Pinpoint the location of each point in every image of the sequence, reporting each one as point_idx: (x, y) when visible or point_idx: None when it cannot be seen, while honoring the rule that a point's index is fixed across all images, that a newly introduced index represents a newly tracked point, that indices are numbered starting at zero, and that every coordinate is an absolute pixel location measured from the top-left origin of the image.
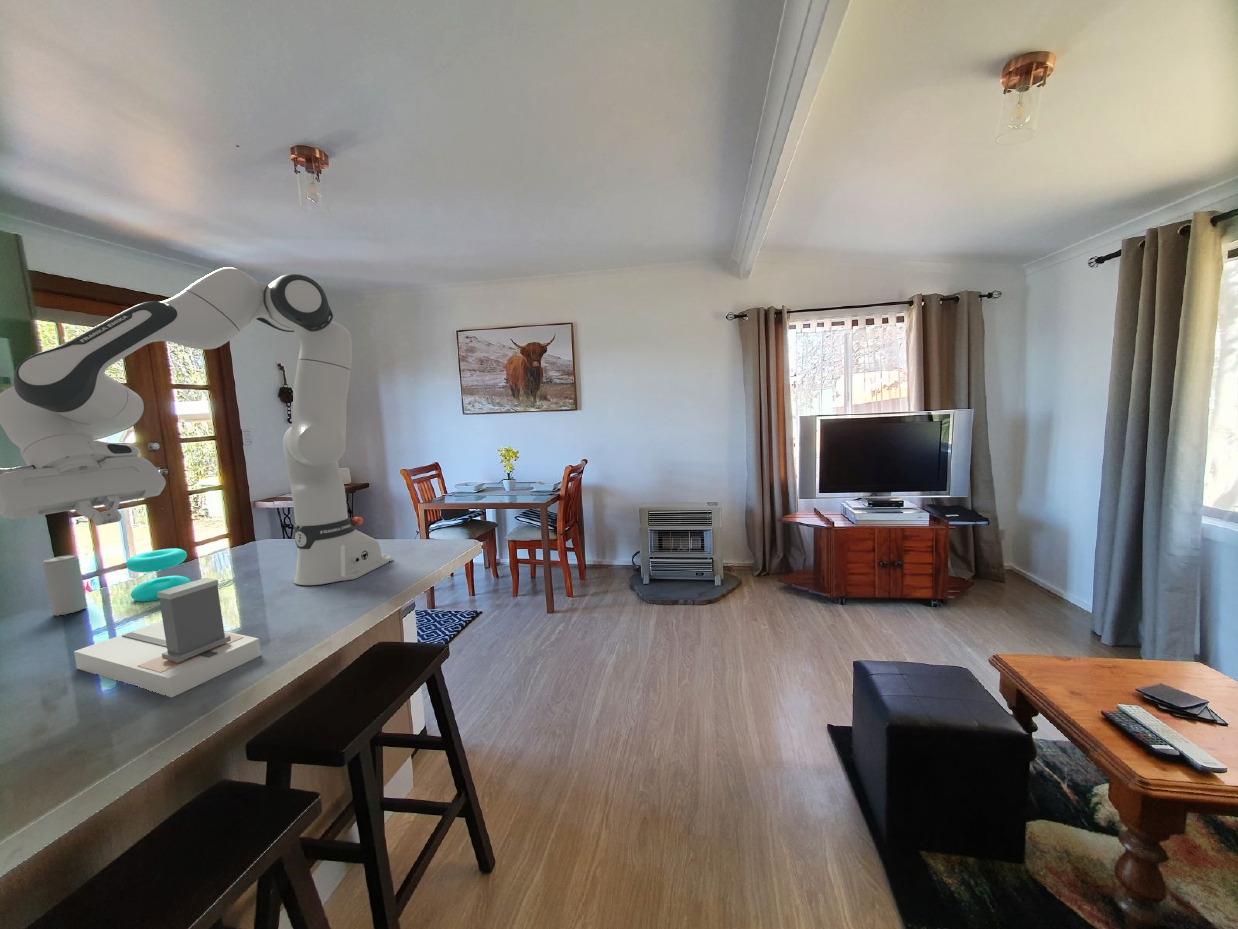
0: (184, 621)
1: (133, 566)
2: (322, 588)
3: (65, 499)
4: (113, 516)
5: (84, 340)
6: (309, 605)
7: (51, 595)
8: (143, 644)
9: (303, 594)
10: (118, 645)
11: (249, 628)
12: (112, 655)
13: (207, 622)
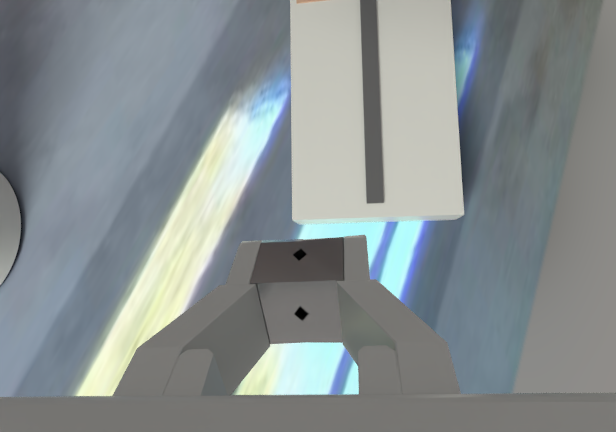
0: None
1: None
2: (25, 159)
3: (611, 398)
4: (282, 244)
5: None
6: (108, 82)
7: None
8: (387, 97)
9: (63, 166)
10: (410, 148)
11: (226, 82)
12: (439, 97)
13: None
